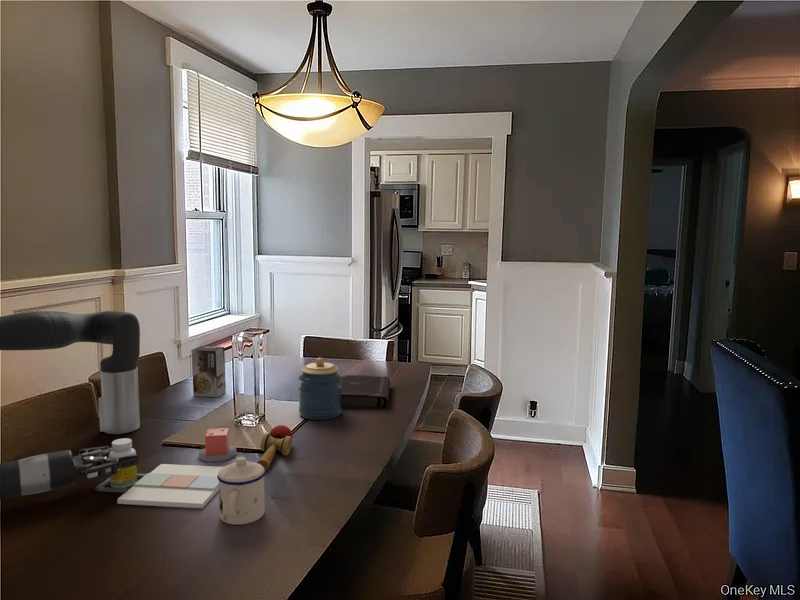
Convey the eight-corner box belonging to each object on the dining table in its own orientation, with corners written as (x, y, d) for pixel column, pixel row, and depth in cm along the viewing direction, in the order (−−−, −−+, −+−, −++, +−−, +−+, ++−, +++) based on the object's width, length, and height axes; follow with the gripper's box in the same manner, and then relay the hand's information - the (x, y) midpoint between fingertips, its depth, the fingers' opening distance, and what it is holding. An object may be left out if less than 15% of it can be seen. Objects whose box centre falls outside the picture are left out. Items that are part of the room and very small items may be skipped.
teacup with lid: (226, 503, 119) (225, 449, 117) (270, 504, 119) (269, 449, 117) (206, 534, 107) (205, 474, 106) (255, 534, 107) (254, 474, 106)
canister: (303, 407, 184) (303, 352, 182) (344, 408, 183) (344, 353, 181) (294, 420, 171) (294, 362, 169) (338, 421, 170) (338, 363, 168)
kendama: (282, 477, 135) (301, 439, 153) (276, 453, 134) (295, 418, 151) (251, 481, 136) (273, 443, 154) (244, 457, 135) (267, 421, 152)
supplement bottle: (126, 490, 124) (124, 446, 123) (104, 487, 125) (102, 444, 124) (142, 479, 130) (140, 438, 128) (121, 477, 131) (119, 436, 129)
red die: (195, 463, 139) (194, 437, 138) (201, 449, 148) (201, 424, 147) (234, 461, 140) (233, 435, 140) (238, 447, 149) (237, 423, 148)
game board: (80, 501, 119) (79, 495, 119) (128, 466, 137) (128, 460, 137) (202, 508, 117) (202, 501, 116) (235, 471, 134) (235, 465, 134)
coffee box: (226, 392, 199) (225, 346, 197) (217, 397, 193) (216, 350, 191) (202, 391, 200) (200, 345, 199) (192, 396, 194) (190, 349, 192)
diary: (390, 389, 209) (390, 375, 208) (387, 410, 184) (388, 395, 183) (338, 387, 209) (338, 374, 208) (329, 408, 184) (329, 393, 183)
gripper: (47, 466, 112) (141, 448, 122) (42, 444, 124) (128, 429, 134) (50, 503, 113) (142, 482, 123) (45, 477, 125) (129, 460, 135)
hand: (134, 454), depth 128 cm, fingers closed on supplement bottle, 5 cm apart
